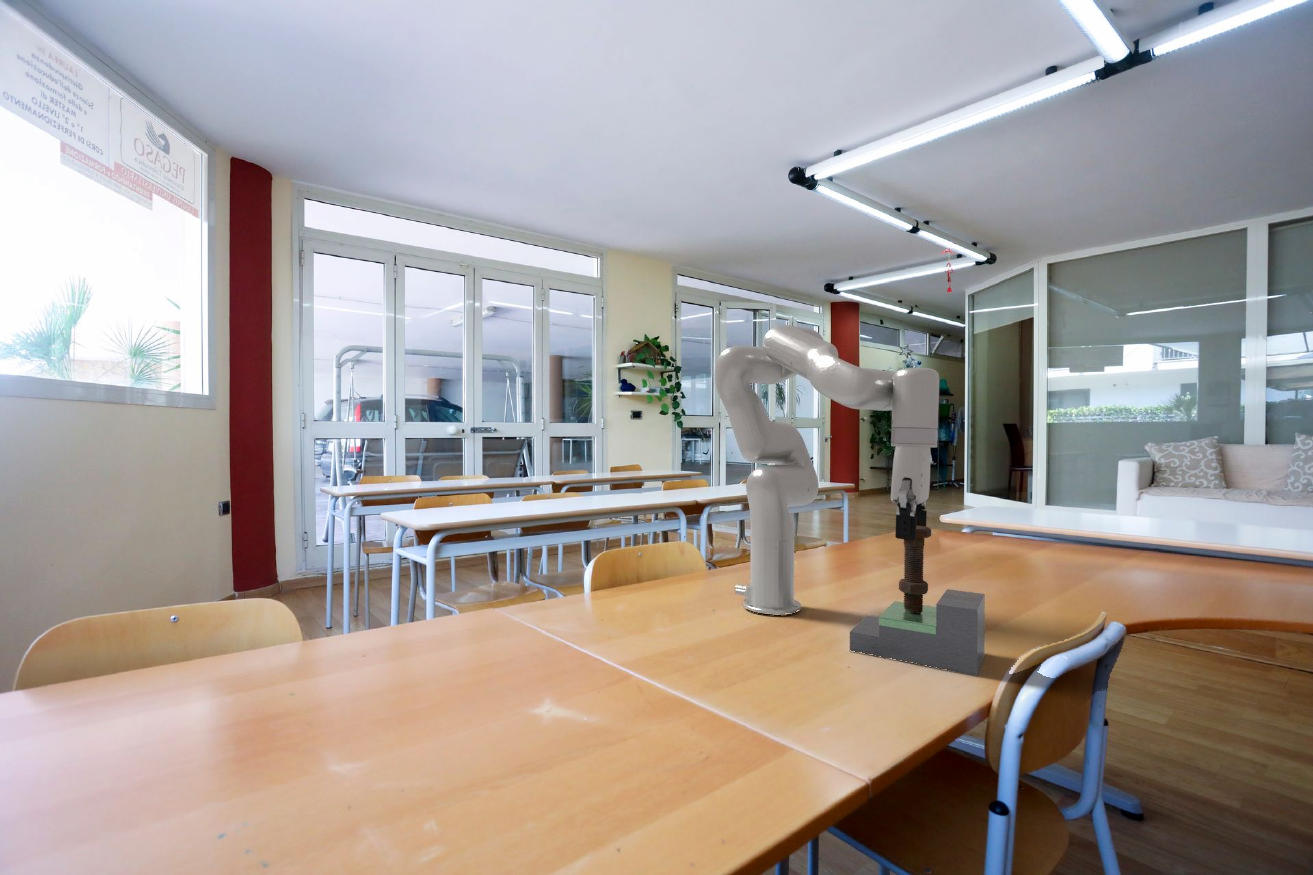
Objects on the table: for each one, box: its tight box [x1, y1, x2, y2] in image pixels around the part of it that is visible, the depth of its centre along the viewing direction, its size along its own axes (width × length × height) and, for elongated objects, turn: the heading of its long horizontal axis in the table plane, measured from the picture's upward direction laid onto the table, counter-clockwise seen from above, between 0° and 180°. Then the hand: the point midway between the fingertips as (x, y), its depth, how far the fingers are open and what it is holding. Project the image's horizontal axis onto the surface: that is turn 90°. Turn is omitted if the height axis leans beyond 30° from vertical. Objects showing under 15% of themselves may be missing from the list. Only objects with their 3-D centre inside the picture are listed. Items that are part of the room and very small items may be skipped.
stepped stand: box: [849, 588, 986, 677], centre depth 106 cm, size 20×12×10 cm, turn 57°
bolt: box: [898, 526, 932, 614], centre depth 107 cm, size 6×5×15 cm
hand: (911, 535), depth 107 cm, fingers open, 9 cm apart
